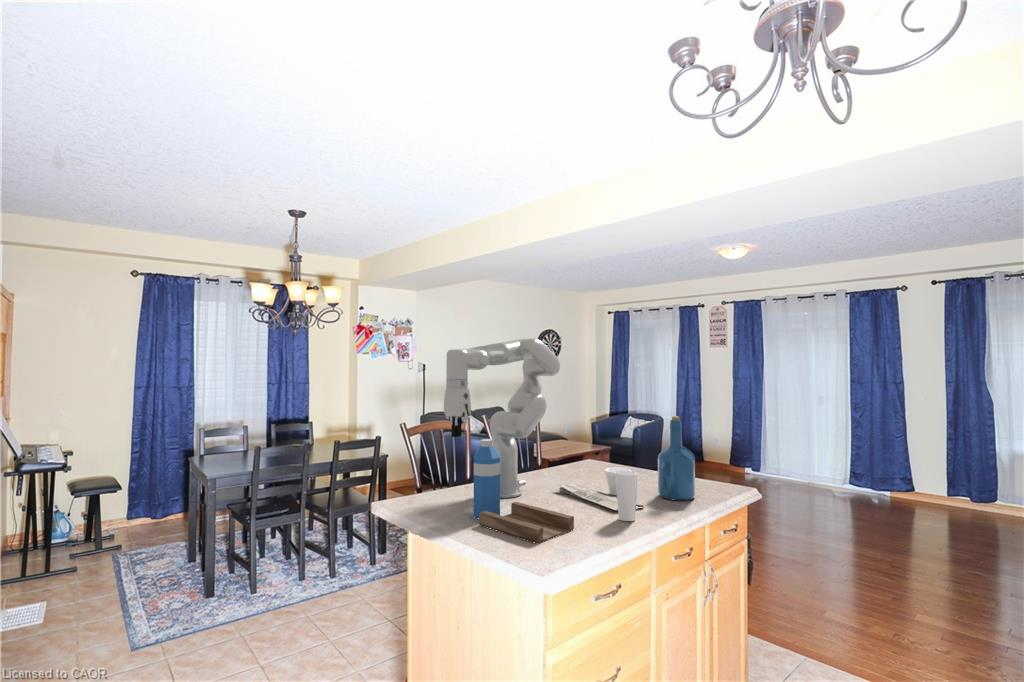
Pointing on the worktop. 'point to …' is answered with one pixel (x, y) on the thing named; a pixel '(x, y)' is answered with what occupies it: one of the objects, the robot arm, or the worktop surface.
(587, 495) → the newspaper
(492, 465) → the water bottle
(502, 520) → the u rest
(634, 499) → the drinking glass
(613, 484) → the cup
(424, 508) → the worktop surface
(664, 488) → the wine bottle
